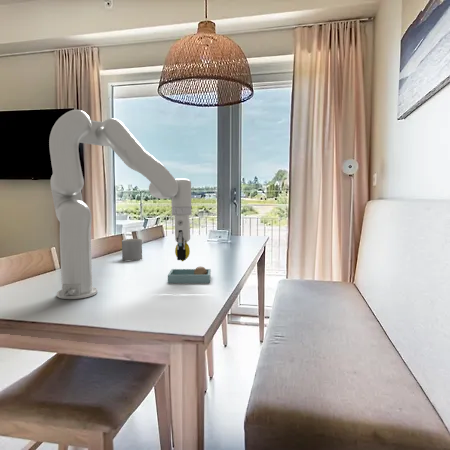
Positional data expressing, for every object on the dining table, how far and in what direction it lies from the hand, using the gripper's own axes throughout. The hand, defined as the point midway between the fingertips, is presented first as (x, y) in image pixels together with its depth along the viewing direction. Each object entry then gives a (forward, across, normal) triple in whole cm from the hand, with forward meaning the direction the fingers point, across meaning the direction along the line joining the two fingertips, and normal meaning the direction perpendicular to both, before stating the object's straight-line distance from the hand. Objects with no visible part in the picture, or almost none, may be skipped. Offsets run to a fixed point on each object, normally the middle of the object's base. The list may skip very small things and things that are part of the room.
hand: (182, 258), depth 142 cm
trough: (+9, 0, -3) cm, 9 cm away
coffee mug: (+9, +50, +31) cm, 60 cm away
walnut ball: (+8, 0, -7) cm, 11 cm away
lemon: (+1, 0, 0) cm, 1 cm away
